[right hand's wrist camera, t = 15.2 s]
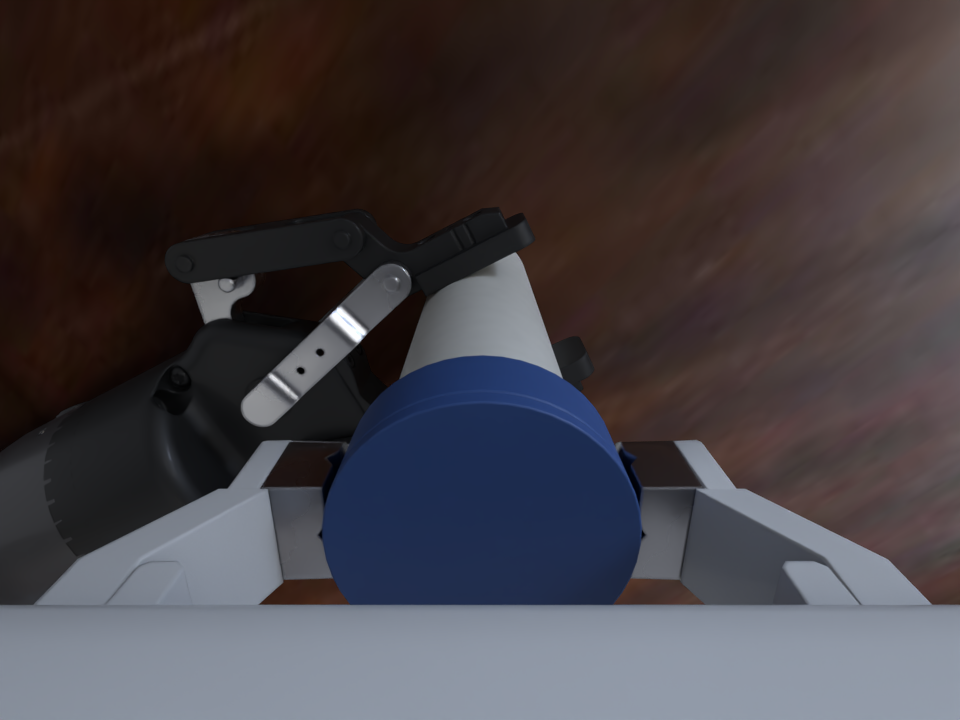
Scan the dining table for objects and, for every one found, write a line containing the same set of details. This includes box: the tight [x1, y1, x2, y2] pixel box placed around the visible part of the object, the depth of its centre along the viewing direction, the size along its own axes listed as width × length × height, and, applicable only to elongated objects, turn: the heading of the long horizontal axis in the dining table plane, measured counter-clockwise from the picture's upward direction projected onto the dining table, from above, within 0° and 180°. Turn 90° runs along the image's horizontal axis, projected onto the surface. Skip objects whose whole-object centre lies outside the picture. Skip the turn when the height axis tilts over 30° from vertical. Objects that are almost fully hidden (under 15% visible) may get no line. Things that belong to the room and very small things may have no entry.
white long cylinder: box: [399, 252, 563, 379], centre depth 17 cm, size 4×4×16 cm
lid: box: [322, 355, 642, 605], centre depth 9 cm, size 5×5×2 cm
